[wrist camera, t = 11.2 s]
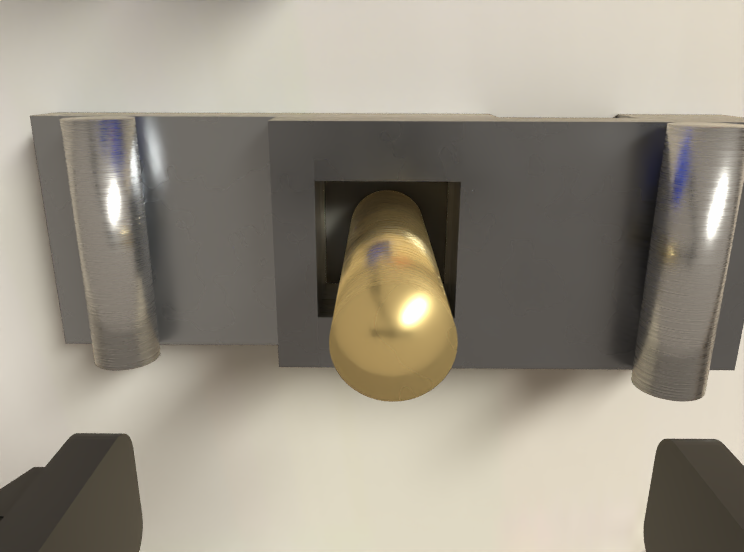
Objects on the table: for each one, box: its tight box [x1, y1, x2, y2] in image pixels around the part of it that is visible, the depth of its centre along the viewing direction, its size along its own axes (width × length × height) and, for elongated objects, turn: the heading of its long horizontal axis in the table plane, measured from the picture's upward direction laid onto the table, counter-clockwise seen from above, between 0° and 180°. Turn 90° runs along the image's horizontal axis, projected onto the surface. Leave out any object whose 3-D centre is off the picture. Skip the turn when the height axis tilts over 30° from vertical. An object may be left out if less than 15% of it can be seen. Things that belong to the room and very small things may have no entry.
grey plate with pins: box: [30, 112, 744, 401], centre depth 23 cm, size 9×26×6 cm, turn 90°
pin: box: [329, 190, 458, 401], centre depth 21 cm, size 3×3×12 cm
